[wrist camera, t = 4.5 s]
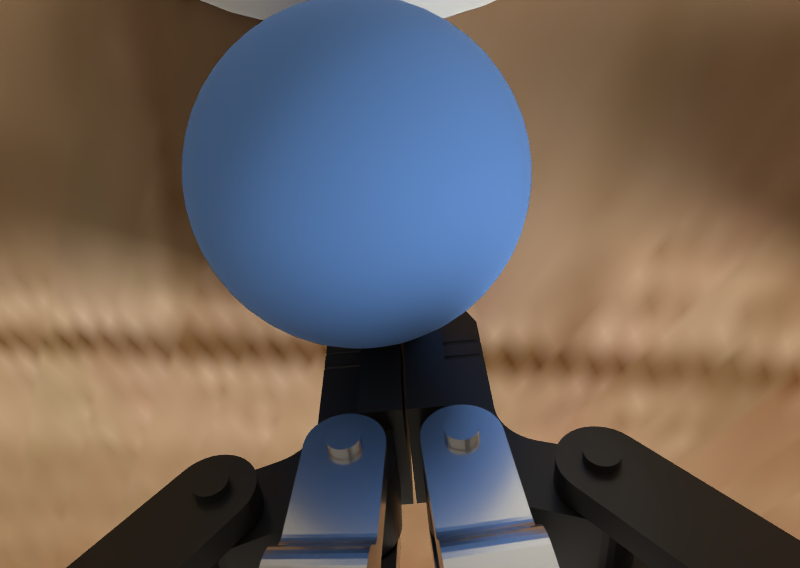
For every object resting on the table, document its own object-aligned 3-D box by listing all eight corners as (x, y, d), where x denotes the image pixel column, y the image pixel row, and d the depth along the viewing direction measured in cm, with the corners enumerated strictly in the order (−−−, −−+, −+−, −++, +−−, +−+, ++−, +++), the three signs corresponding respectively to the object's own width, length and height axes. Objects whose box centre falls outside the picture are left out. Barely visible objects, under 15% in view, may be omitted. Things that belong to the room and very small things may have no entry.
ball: (286, 296, 14) (239, 36, 13) (537, 280, 13) (518, -7, 12) (156, 416, 9) (52, 4, 8) (550, 406, 8) (520, -79, 7)
